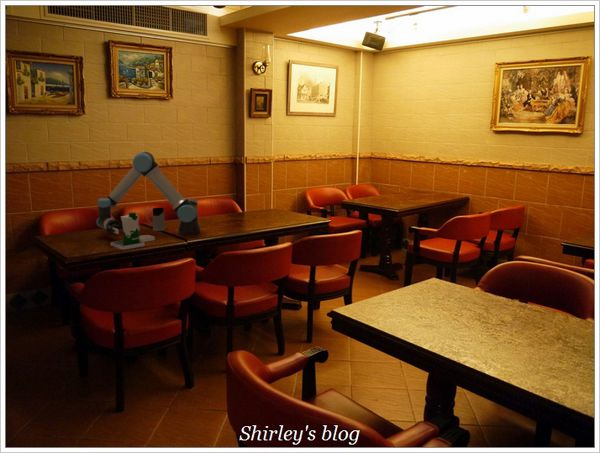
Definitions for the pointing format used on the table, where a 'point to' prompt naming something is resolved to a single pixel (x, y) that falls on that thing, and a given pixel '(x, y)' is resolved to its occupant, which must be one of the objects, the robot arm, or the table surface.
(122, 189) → the robot arm
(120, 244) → the shallow grey tray
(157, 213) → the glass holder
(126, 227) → the milk carton
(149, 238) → the small square white tray
